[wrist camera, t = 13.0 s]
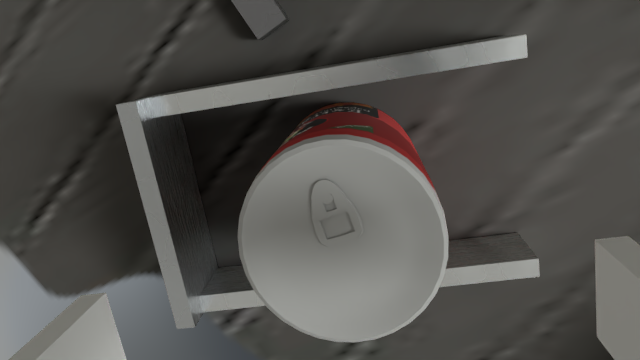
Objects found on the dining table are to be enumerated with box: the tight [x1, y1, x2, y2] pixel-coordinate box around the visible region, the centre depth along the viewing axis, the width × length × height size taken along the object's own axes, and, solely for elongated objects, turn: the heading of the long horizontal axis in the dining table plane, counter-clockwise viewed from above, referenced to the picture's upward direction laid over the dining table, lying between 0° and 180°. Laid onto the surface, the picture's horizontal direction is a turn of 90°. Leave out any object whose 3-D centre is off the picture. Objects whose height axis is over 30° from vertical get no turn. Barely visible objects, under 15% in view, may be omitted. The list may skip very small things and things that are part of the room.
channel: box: [116, 35, 540, 329], centre depth 26 cm, size 12×19×5 cm, turn 99°
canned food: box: [238, 103, 448, 342], centre depth 23 cm, size 8×8×11 cm
